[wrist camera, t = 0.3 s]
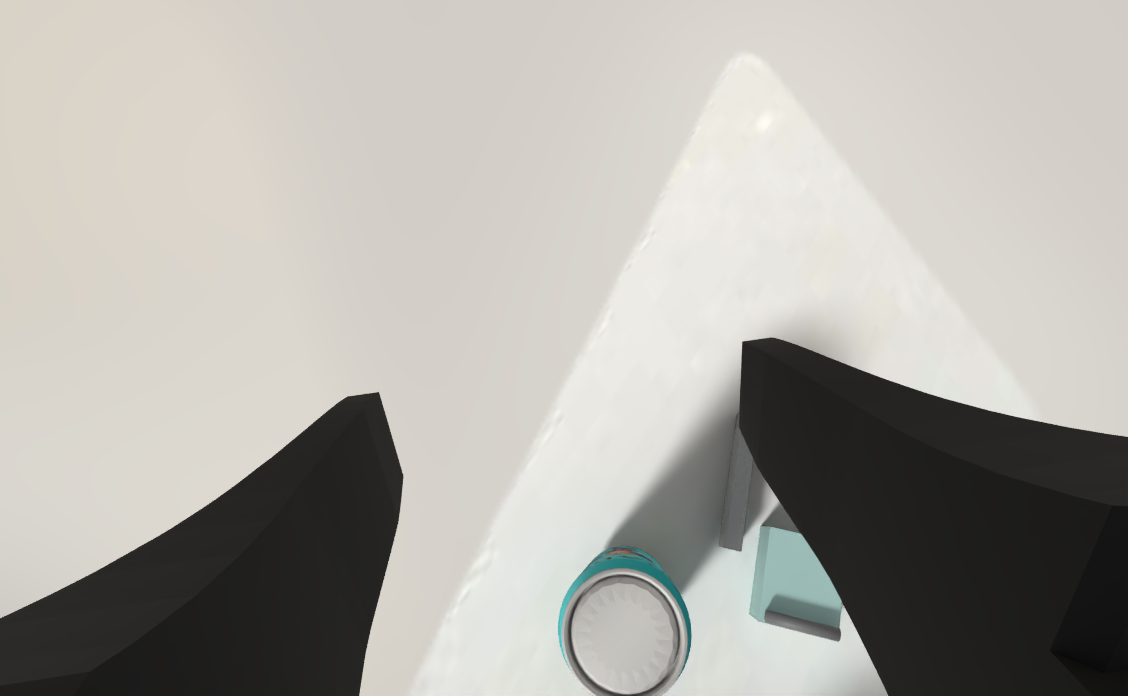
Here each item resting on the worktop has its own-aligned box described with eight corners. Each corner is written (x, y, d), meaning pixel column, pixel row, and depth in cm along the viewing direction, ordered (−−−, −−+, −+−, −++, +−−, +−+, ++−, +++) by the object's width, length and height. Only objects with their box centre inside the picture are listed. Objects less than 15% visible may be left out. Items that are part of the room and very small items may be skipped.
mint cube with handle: (821, 632, 36) (844, 645, 32) (748, 613, 36) (762, 624, 33) (830, 542, 37) (853, 545, 33) (759, 526, 38) (774, 526, 34)
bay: (870, 580, 36) (887, 585, 34) (718, 545, 37) (724, 547, 35) (880, 441, 38) (897, 436, 36) (737, 414, 40) (744, 407, 37)
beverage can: (654, 535, 38) (671, 545, 24) (680, 627, 36) (714, 697, 22) (572, 557, 38) (540, 579, 24) (594, 648, 37) (572, 732, 22)
